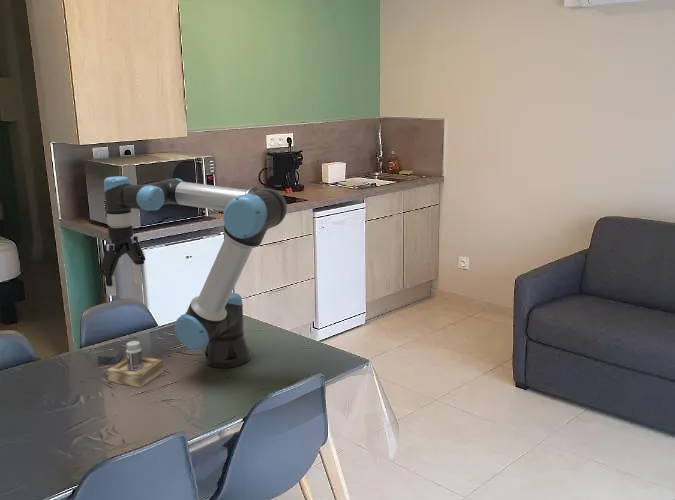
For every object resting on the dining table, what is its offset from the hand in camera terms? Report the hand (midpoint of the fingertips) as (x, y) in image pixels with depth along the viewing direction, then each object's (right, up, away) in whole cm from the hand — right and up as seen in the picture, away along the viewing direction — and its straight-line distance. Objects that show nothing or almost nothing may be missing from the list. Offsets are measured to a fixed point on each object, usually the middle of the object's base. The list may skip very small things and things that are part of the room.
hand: (125, 289), depth 210 cm
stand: (+5, -27, -6) cm, 29 cm away
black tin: (-7, -25, +7) cm, 27 cm away
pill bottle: (+5, -25, -6) cm, 26 cm away
